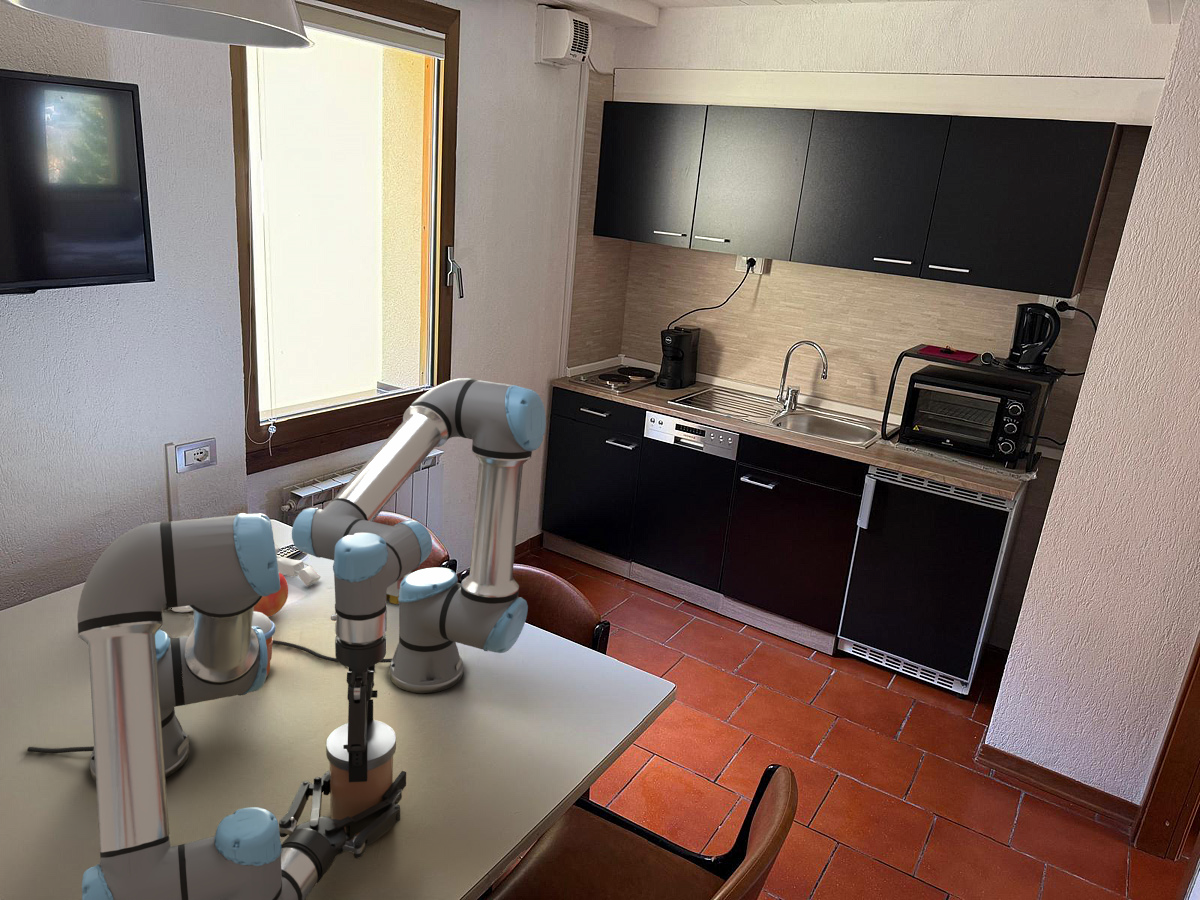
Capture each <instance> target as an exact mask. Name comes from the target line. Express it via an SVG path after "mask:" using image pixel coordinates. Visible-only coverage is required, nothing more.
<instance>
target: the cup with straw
mask: <svg viewBox="0 0 1200 900" xmlns="http://www.w3.org/2000/svg"><path fill="white" fill-rule="evenodd" d="M252 626H258V627H260V628H261V630H262V631H263V633H264V635H265V639H266V645H267V656H268V664H267V668H266V669H267V676H268V675H270V670H271V660H272V658H273V657H272V656H273V645H274V644H273V640H274V638H273V636H274V635H275V632H276V624H275V623H274V621H272V620H271V619H270V618H269V617H267V616H266V615H265V614H263V613H260V612H255V611H253V618H252Z"/></svg>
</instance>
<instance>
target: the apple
mask: <svg viewBox="0 0 1200 900" xmlns="http://www.w3.org/2000/svg"><path fill="white" fill-rule="evenodd" d="M279 577H280V586H281V587H280V590H279V591H278V592H276V593H274V594H270V595H269V596H263V597H262V598H261V600H260V601H259V602H258V603H257V604H256V605H255V606H254V609H253V611H255V612H260V613H263V614H265V615H266V616H267V617H268V618H269V617H273V616H275V615H276V614H278V613H279V612H280V611H281V610H282V609H283V607H284V606H285V605H286V603H287V600H288V597H289V584H288V581H287V579H286V577H285V575H282V574H281V573H279Z"/></svg>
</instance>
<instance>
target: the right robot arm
mask: <svg viewBox="0 0 1200 900" xmlns="http://www.w3.org/2000/svg"><path fill="white" fill-rule="evenodd" d="M546 425H547V416H546V409H545V405H544V402H543V400H542V398H541V396H540V395H539V394H538V392H536V391H534V390H533V389H530V388H527V387H523V386H519V385H516V384H508V383H502V382H494V381H486V380H481V379H475V378H470V377H463V378H455V379H452V380H448V381H445V382H443V383H441V384H438V385H436V386H434V387H432V388H430V389H429V390H428V391H426V392H424V393H423V394H421V395H420V396H419V397H418V398H416V399H415V400H414V401H413V402H412V403H411V405H409V407H408V408H407V409H406V410H405V411H404V413H403V415H402V421H401V424H399V426H397V428H396V429H395V430H394V431H393V433H391V434H390V436H388V438H386V440H385V441H384V442H383V443H382V444H381V445H380V446H379V448H377V450H376V451H375V452H374V453H373V455H371V456H370V457H369V459H368V460H367V461H366V462H365V463H364V464H363V466H362V467H360V469H359V470H358V471H357V472H356V473H355V474H354V476H352V478H350V480H349V481H348V482H347V483H346V484H345V485H344V487H342V489H340V491H338V493H337V494H336V495H335V497H334V498H333V499H332V500H331V501H329V503H328V504H327V505H326V506H325V507H324V508H323V509H321V508H319V507H316V508H315V507H308V508H306V509H303V510H302V511H301V512H300V513H299V514H298V515H297V516H296V518H295V519H294V521H293V525H292V528H291V540H292V544H293V545H294V547H295V548H296V549H297V550H298V551H299V552H302V553H304V554H308V555H311V556H312V557H316V558H318V559H320V558H322V559H327V560H330V561H333V565H332V571H333V577H334V578H333V579H334V580H333V581H334V599H335V601H334V603H335V604H334V613H332V614H331V615H330V620H331V621H333V622H335V624H334V625H335V626H334V627H335V629H334V630H335V631H334V633H335V635H336V636H335V638H334V645H335V646H334V647H335V648H334V649H335V651H334V652H335V655H334V656H335V657H331V656H327V655H325V654H321V653H318V652H317V651H314V650H312V649H310V648H308V647H306V646H303V645H299V644H295V643H293V642H292V643H291V642H288V641H281V640H275V639H273V644H272V645H279V646H283V647H288V648H292V649H296V650H300V651H303V652H305V653H308V654H310V655H312V656H314V657H315V658H318V659H320V660H324V661H328V662H333V663H338V664H340V665H342V666H343V667H347V668H348V669H347V670H348V671H347V672H346V683H347V697H346V698H347V701H348V711H347V714H348V715H347V723H348V744H344V745H343V748H344V749H347V752H348V753H349V782H366V781H367V742H366V730H367V720H374V699H375V698H378V690H377V689H375V690H374V686H375V681H374V679H375V671H376V665H378V664H385V663H390V664H389V679H390V681H391V682H392V683H393V684H394V685H395V686H396V687H398V688H399V689H401V690H404V691H407V692H410V693H416V694H430V693H431V694H432V693H438V692H441V691H445V690H447V689H450V688H451V687H453V686H455V685H456V684H457V683H458V682H459V681H460V680H461V679H462V676H463V672H464V662H463V659H462V657H461V656H460V653H459V649H458V646H457V643H458V644H461V645H464V646H468V647H472V648H474V649H475V648H476V649H480V650H483V651H484V652H492V653H498V654H505V653H506V652H509V651H510V649H512V648H513V647H514V645H515V644H516V643H517V641H518V639H519V637H520V635H521V633H522V631H523V629H524V627H525V624H526V621H527V616H528V611H529V610H528V609H529V605H528V602H527V600H526V599H524V598H523V597H519V591H520V585H519V583H518V582H517V580H515V579H514V577H513V574H514V564H515V553H516V543H517V534H518V533H517V532H518V521H519V512H520V511H519V510H520V500H521V488H522V477H523V470H524V469H523V468H524V464H525V463H526V462H527V461H529V460H530V459H531V458H532V454H533V451H536V450H539V448H540V446H541V445H542V443H543V441H544V436H545V434H546V428H547V426H546ZM452 438H464V439H468V440H472V444H471V453H472V454H473V455H474V456H475V458H476V459H477V460H478V468H477V478H476V479H477V480H476V490H475V491H476V493H475V503H474V514H473V515H474V517H473V530H472V539H471V540H472V542H471V553H470V565H469V574H468V575H467V576H466V577H464V579H462V580H461V583H460V582H458V580H459V579H458V575H457V573H456V572H455V571H454V570H453V569H450V568H448V567H447V568H446V567H427V568H421V569H418V568H419V567H420V566H421V564H423V563H424V562H425V561H426V560H427V559H428V558H429V556H430V555H431V553H432V549H433V539H432V535H431V534H430V531H429V530H428V529H427V528H426V526H424V524H422V523H421V522H419V521H417V520H413V519H408V520H404V521H401V522H398V523H395V524H394V525H388V524H384V523H380V522H375V519H376V518H377V517H378V516H379V515H380V514H381V512H382V511H383V510H384V509H385V507H386V506H387V505H388V504H389V503H390V501H391V500H392V499H393V498H394V497H395V495H396V494H397V493H398V492H399V491H400V489H401V488H403V486H404V485H405V484H406V482H407V481H409V479H410V478H411V476H412V475H413V474H414V472H415V471H416V470H417V469H418V468H419V467H420V466H421V464H422V463H423V462H424V461H425V459H426V458H428V456H429V455H430V454H431V452H433V450H434V449H435V448H439V447H442V446H443V445H444V444H446V443H447V441H448V440H449V439H452ZM416 569H418V570H416ZM414 570H416V571H414ZM409 572H411V574H409V575H407V576H406V577H405V578H404V579H403V580H402V582H401V584H400V591H399V597H398V600H399V603H398V643H397V645H396V648H395V651H394V653H393V656H392V658H385V657H386V655H387V628H388V627H387V626H388V624H387V623H388V621H387V620H388V607H387V601H386V594H387V588H388V587H389V586H390V585H392V584H393V583H395V582H396V581H397V580H399V579H400V578H402V577H403V576H405V575H406V574H408V573H409Z"/></svg>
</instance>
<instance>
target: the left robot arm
mask: <svg viewBox="0 0 1200 900" xmlns="http://www.w3.org/2000/svg"><path fill="white" fill-rule="evenodd" d="M273 531H274V530H273V525H272V521H271V519H270V517H268V515H266V514H264V513H244V512H240V513H237V514H233V515H225V516H214V517H204V518H194V519H183V520H182V519H180V520H171V521H163V522H160V521H156V522H149V523H144V524H141V525H138V526H135V527H133V528H131V529H129V530H128V531H126V532H124V533H122V534H121V535H120V536H118V537H117V538H116V539H115V540H114V541H112V543H110V544H109V545H108V546H107V547H106V548H105V549H104V551H102V553H101V554H100V556H99V557H98V559H97V560H96V562H95V563H94V565H93V566H92V568H91V569H90V572H89V574H88V575H87V578H86V580H85V583H84V585H83V587H82V590H81V593H80V598H79V601H78V608H77V615H76V616H77V617H76V618H77V619H76V620H77V636H78V638H79V639H80V640H81V641H83V642H85V643H86V644H87V646H88V663H89V678H90V679H89V681H90V693H91V695H90V698H91V715H92V716H91V717H92V732H93V746H92V745H91V746H72V747H59V748H58V747H57V748H55V747H54V748H48V747H37V746H28V747H27V752H28V753H29V752H31V753H39V754H65V753H78V752H91V756H90V759H89V770H90V775H91V778H92V780H94V781H95V783H96V785H95V786H96V801H97V802H96V803H97V821H98V837H99V839H98V840H99V856H100V858H99V863H96V865H94V866H91V867H88V868H87V869H86V870H85V871H84V872H83V874H82V879H81V880H82V881H81V890H82V891H81V892H82V893H81V900H306V899H307V898H308V896H309V895H310V894H311V892H312V891H313V889H315V887H316V886H317V884H318V883H319V882H320V881H321V879H323V877H324V876H325V874H326V873H327V872H328V871H329V869H330V868H331V866H332V865H333V863H334V861H335V860H336V858H337V857H338V856H339V855H341V854H343V853H344V852H348V853H353V858H355V859H360V858H362V856H363V855H364V853H365V852H366V850H367V848H369V847H370V846H371V845H373V844H374V843H375V842H376V841H378V840H379V839H380V838H381V837H383V836H384V835H385V834H386V833H388V831H389V830H391V829H392V828H394V827H395V826H396V825H397V824H399V822H400V821H401V805H400V804H399V803H400V801H401V800H402V797H403V790H404V789H405V787H406V786H407V771H406V770H405V771H404V770H401V771H400V773H399V774H398V775H397V777H396V778H395V779H394V780H393V783H392V784H391V786H390V787H389V788H388V790H387V791H386V792H385V794H384V795H383V801H382V802H380V803H378V804H376V805H374V806H372V807H370V808H368V809H366V810H365V811H363V812H361V813H359V814H357V815H355V816H353V817H349V816H348V817H345V818H343V819H342V820H338V819H331V817H329V816H327V815H322V816H321V814H322V802H323V801H322V800H323V795H324V796H329V795H330V770H327V771H325V773H324V774H323V775H321V776H315V777H314V778H313V782H310V781H309V780H303V781H301V783H300V786H299V787H298V790H297V792H296V793H295V796H294V798H293V800H292V802H291V804H290V806H289V808H288V810H287V813H286V814H284V815H283V816H282V817H281V818H280V819H279V821H278V819H277V817H276V816H275V815H274V814H273V812H271V811H270V810H269V809H266V808H263V807H259V806H249V807H243V808H239V809H237V810H235V811H233V813H232V814H228V815H226V816H225V817H223V818H222V819H221V821H220V822H219V824H218V825H217V827H216V831H215V835H214V836H208V837H204V838H201V839H197V840H193V841H190V842H189V841H188V842H186V843H181V844H177V845H173V846H171V842H170V824H169V811H168V797H167V796H168V795H167V783H166V779H167V778H169V777H171V775H173V774H175V773H176V772H177V771H179V770H180V769H181V768H182V767H183V766H184V764H185V763H186V762H187V760H188V758H189V755H190V744H189V743H190V737H189V736H190V735H187V734H186V732H185V730H184V729H183V727H182V725H181V722H180V720H179V719H178V717H177V715H176V712H175V707H180V706H181V707H182V706H186V705H191V704H197V703H202V702H208V701H213V700H219V699H224V698H230V697H235V696H240V697H241V696H245V695H248V694H251V693H254V692H257V691H259V690H261V688H262V687H263V686H264V685H265V682H266V680H267V676H268V675H267V669H266V668H267V664H268V656H267V645H266V639H265V635H264V633H263V631H262V630H261V628H260V627H258V626H252V618H253V609H254V606H255V605H256V604H257V603H258V602H259V601H260V600H261V598H262V597H263V596H269V595H270V594H274V593H276V592H278V591H279V590H280V587H281V586H280V577H279V570H278V563H277V557H278V555H277V556H276V550H275V545H276V544H275V539H274V532H273ZM181 606H190V607H191V608H192V609H193V611H192V612H193V613H192V614H193V630H192V632H191V633H190V634H189V635H183V636H179V637H178V636H177V637H172V638H170V636H169V635H168V634H167V632H165V631H164V630H162V629H161V628H162V627H163V625H164V623H163V610H164V609H170V608H173V607H181ZM310 796H311V798H312V799H311V809H310V818H309V820H307V821H304V822H302V823H300V824H298V823H299V820H300V818H301V816H302V813H303V811H304V809H305V807H306V804H307V803H308V800H309V798H310ZM345 827H346V832H345ZM359 832H360V833H359ZM358 833H359V834H358ZM356 834H358V835H356ZM285 837H287V838H285ZM281 838H285V840H284V841H283V842H281ZM351 839H352V840H351ZM349 840H350V841H349Z"/></svg>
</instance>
